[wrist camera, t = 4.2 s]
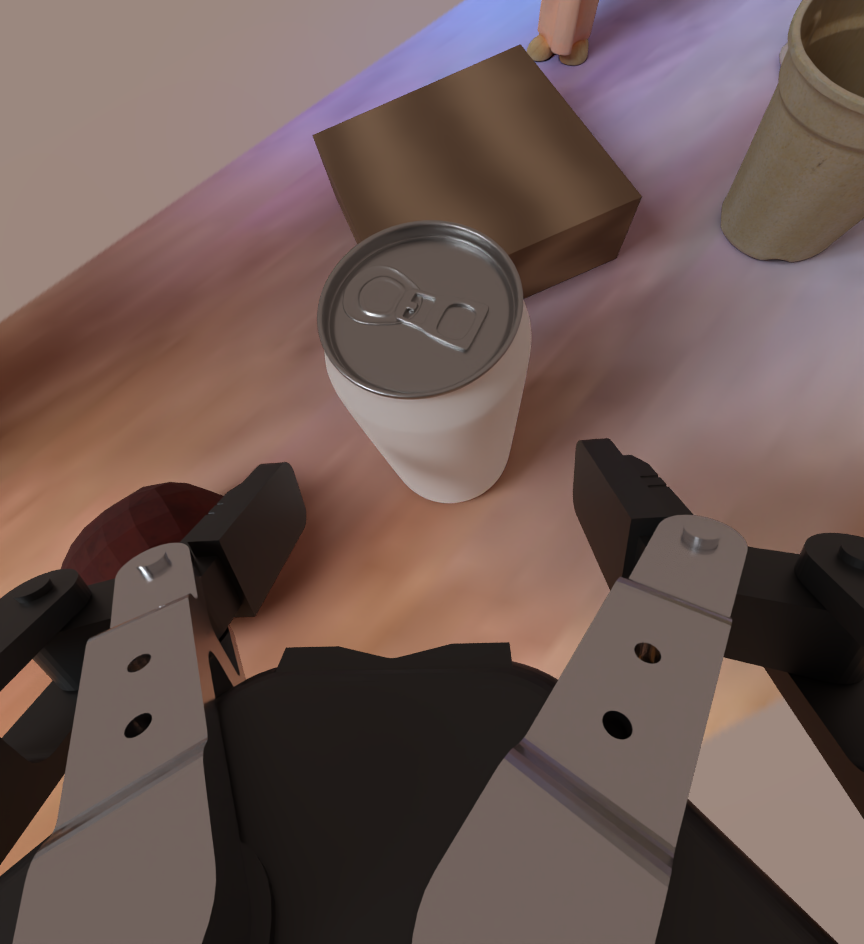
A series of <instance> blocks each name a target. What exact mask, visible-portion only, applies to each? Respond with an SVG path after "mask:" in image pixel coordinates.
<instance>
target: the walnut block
mask: <svg viewBox="0 0 864 944" xmlns="http://www.w3.org/2000/svg"><path fill="white" fill-rule="evenodd" d="M313 138H314V141H315V143H316V146H317V149H318V151H319V154H320V156H321V159H322V162H323V164H324V167H325V170H326V172H327V175H328V178H329V180H330V183H331V186H332V188H333V191H334V193H335V196H336V198H337V200H338V203H339V205H340V207H341V209H342V211H343V214H344V216H345V218H346V220H347V222H348V225H349V227H350V229H351V231H352V233H353V236H354V238H355V240H356V242H357V244H359V243H360V242H362V241H363V240H365V239H367V238H368V237H370V236H372V235H374V234H376V233H378V232H380V231H382V230H384V229H387V228H390V227H392V226H396V225H399V224H403V223H408V222H414V221H423V220H439V221H448V222H453V223H458V224H462V225H465V226H468V227H470V228H473V229H475V230H477V231H479V232H481V233H483V234H485V235H486V236H488V237H489V238H491V239H492V240H494V241H495V242H496V243H497V244H498V245H499V246H500V247H501V248H502V249H503V250H504V251H505V252H506V253H507V254H508V256H509V257H510V259H511V260H512V262H513V263H514V265H515V267H516V269H517V271H518V274H519V277H520V280H521V284H522V289H523V299H524V298H526V297H528V296H531V295H533V294H535V293H537V292H540V291H542V290H544V289H547V288H549V287H551V286H554V285H556V284H558V283H560V282H563V281H565V280H567V279H570V278H572V277H574V276H577V275H579V274H581V273H583V272H586V271H588V270H590V269H593V268H595V267H597V266H600V265H602V264H604V263H606V262H609V261H611V260H613V259H616V258H617V256H618V253H619V251H620V248H621V246H622V244H623V241H624V239H625V236H626V234H627V231H628V229H629V227H630V224H631V222H632V219H633V217H634V215H635V212H636V210H637V207H638V205H639V203H640V200H641V198H642V196H641V195H640V194H639V192H638V191H637V190H636V189H635V187H634V186H633V185H632V184H631V182H630V181H629V180H628V179H627V177H626V176H625V175H624V174H623V172H622V171H621V170H620V169H619V167H618V166H617V165H616V164H615V162H614V161H613V160H612V159H611V157H610V156H609V155H608V154H607V152H606V151H605V150H604V149H603V147H602V146H601V145H600V144H599V142H598V141H597V140H596V138H595V137H594V136H593V135H592V133H591V132H590V131H589V130H588V128H587V127H586V126H585V125H584V123H583V122H582V121H581V120H580V118H579V117H578V116H577V115H576V113H575V112H574V111H573V110H572V108H571V107H570V106H569V105H568V103H567V102H566V101H565V100H564V98H563V97H562V96H561V95H560V93H559V92H558V91H557V90H556V88H555V87H554V86H553V85H552V83H551V82H550V81H549V80H548V78H547V77H546V76H545V75H544V73H543V72H542V71H541V70H540V68H539V67H538V66H537V65H536V63H535V62H534V61H533V60H532V58H531V57H530V56H529V55H528V53H527V52H526V51H525V49H524V48H523V47H522V46H521V44H520V45H518V46H516V47H513V48H511V49H509V50H506V51H504V52H502V53H500V54H497V55H495V56H493V57H490V58H488V59H486V60H484V61H481V62H479V63H477V64H474V65H472V66H470V67H468V68H465V69H463V70H461V71H458V72H456V73H454V74H452V75H449V76H447V77H445V78H442V79H440V80H438V81H436V82H433V83H431V84H429V85H426V86H424V87H422V88H420V89H417V90H415V91H413V92H410V93H408V94H406V95H404V96H401V97H399V98H397V99H394V100H392V101H390V102H388V103H385V104H383V105H381V106H378V107H376V108H374V109H372V110H369V111H367V112H365V113H362V114H360V115H358V116H356V117H353V118H351V119H349V120H346V121H344V122H342V123H340V124H337V125H335V126H333V127H330V128H328V129H326V130H324V131H321V132H319V133H317V134H314V135H313Z"/></svg>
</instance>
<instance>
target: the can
mask: <svg viewBox="0 0 864 944" xmlns="http://www.w3.org/2000/svg"><path fill="white" fill-rule="evenodd" d="M317 326H318V333H319V337H320V341H321V344H322V346H323V349H324V353H325V363H326V368H327V372H328V375H329V378H330V381H331V383H332V385H333V387H334V389H335V391H336V393H337V395H338V396H339V398H340V399H341V401H342V402H343V404H344V405H345V407H346V408H347V409H348V411H349V412H350V413H351V415H352V416H353V417H354V419H355V420H356V421H357V423H358V424H359V425H360V427H361V428H362V429H363V431H364V432H365V433H366V435H367V436H368V437H369V438H370V440H371V441H372V442H373V444H374V445H375V446H376V448H377V449H378V450H379V451H380V453H381V454H382V455H383V457H384V458H385V459H386V460H387V462H388V463H389V464H390V466H391V467H392V468H393V469H394V471H395V472H396V473H397V474H398V476H399V477H400V478H401V479H402V480H403V482H404V483H405V484H406V485H407V486H408V487H409V488H410V489H411V490H413V491H414V492H415V493H417V494H418V495H420V496H422V497H424V498H426V499H429V500H432V501H435V502H440V503H459V502H464V501H467V500H470V499H473V498H475V497H477V496H479V495H481V494H483V493H484V492H486V491H487V490H488V489H489V488H491V487H492V486H493V485H494V484H495V482H496V481H497V480H498V479H499V477H500V476H501V474H502V472H503V471H504V469H505V466H506V464H507V461H508V457H509V453H510V449H511V445H512V441H513V436H514V432H515V427H516V422H517V418H518V413H519V408H520V404H521V399H522V394H523V389H524V385H525V380H526V375H527V369H528V364H529V358H530V351H531V324H530V318H529V314H528V311H527V308H526V305H525V303H524V300H523V289H522V284H521V280H520V277H519V274H518V271H517V269H516V267H515V265H514V263H513V262H512V260H511V259H510V257H509V256H508V254H507V253H506V252H505V251H504V250H503V249H502V248H501V247H500V246H499V245H498V244H497V243H496V242H495V241H494V240H492V239H491V238H489V237H488V236H486V235H485V234H483V233H481V232H479V231H477V230H475V229H473V228H470V227H468V226H465V225H462V224H458V223H453V222H448V221H439V220H423V221H414V222H408V223H403V224H399V225H396V226H392V227H390V228H387V229H384V230H382V231H380V232H378V233H376V234H374V235H372V236H370V237H368V238H367V239H365V240H363V241H362V242H360V243H359V244H358V245H356V246H355V247H354V248H353V249H351V250H350V251H349V252H348V253H347V254H346V255H345V256H344V257H343V258H342V259H341V260H340V262H339V263H338V264H337V265H336V266H335V268H334V269H333V271H332V272H331V274H330V275H329V277H328V279H327V281H326V283H325V285H324V287H323V290H322V293H321V296H320V300H319V304H318V312H317Z"/></svg>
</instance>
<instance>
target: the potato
mask: <svg viewBox="0 0 864 944" xmlns="http://www.w3.org/2000/svg"><path fill="white" fill-rule="evenodd" d="M223 497H224V496H222V495H219V494H217V493H214V492H211V491H209V490H206V489H203V488H200V487H197V486H194V485H191V484H188V483H175V482H168V483H162V484H157V485H151V486H146V487H142V488H140V489H139V490H137V491H136V492H134V493H132V494H131V495H129V496H127V497H126V498H124V499H122V500H121V501H119V502H117V503H116V504H114V505H113V506H111V507H110V508H108V509H107V510H105V511H104V512H103V513H101V514H100V515H99V516H98V517H97V518H95V519H94V520H93V521H92V522H91V523H90V524H88V525H87V526H86V527H85V528H84V529H83V530H82V532H81V533H80V534H79V536H78V537H77V538H76V540H75V541H74V542H73V543H72V545H71V547H70V549H69V551H68V553H67V555H66V557H65V559H64V561H63V563H62V567H61V569H74V570H76V571H77V572H78V574H79V575H80V576H81V578H82V579H83V580H84V582H85V583H86V585H87V586H88V585H91V584H95V583H99V582H103V581H107V580H111V579H115V578H116V575H117V573H118V571H119V570H120V569H121V568H122V567H123V566H124V565H125V564H126V563H127V562H128V561H130V560H131V559H133V558H134V557H135V556H137V555H139V554H141V553H143V552H145V551H147V550H149V549H151V548H154V547H157V546H160V545H163V544H168V543H180V541H181V540H182V539H183V538H184V537H185V536H186V535H187V534H188V533H189V532H190V531H191V530H192V529H193V528H194V527H195V526H196V525H197V524H198V523H199V522H200V521H201V520H202V518H203V517H204V516H205V515H208V512H209V511H210V510H211V509H212V508H213V507H214V506H215V505H217V503H218V502H219V501H220V500H221V499H222V498H223Z"/></svg>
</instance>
